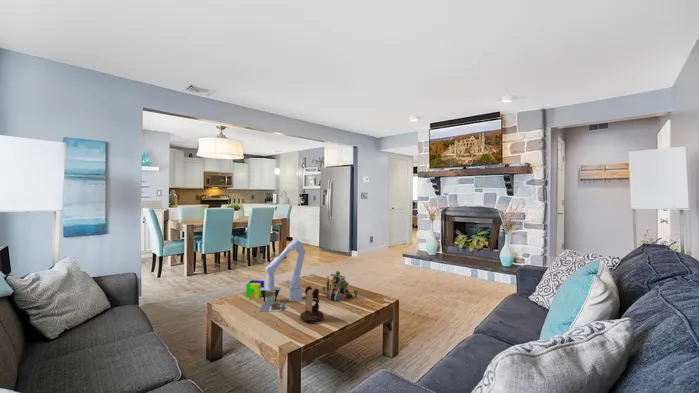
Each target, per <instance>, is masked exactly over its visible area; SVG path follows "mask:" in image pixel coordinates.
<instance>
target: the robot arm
mask: <svg viewBox="0 0 699 393" xmlns="http://www.w3.org/2000/svg"><path fill="white" fill-rule="evenodd" d="M292 251H296V252H297V254H296V259H295V264H294V268H293V273H292V274H291V277H290V278H289V281H288V284H289V285H290V286H289V298H288V302H297V301H301V302H302V301H303V287H301V271H302V267H303V264H304V260H305V254H306V249H305V247H304V244H303V243H302V241H301V240H298V239H296V238H294V239H292V240H291V241H290V242H289V243H288V245H287V246H286V247H285V248H284V249H283V250H282V252H281V253H280V254H279V256H275V257H274V258H273V260H272V261H271V262H270V263H268V265H266V267H265V271H266V273H265V274H266V276H265V277H266V278H265V279H266V280H265V287H264V288H260V292H261V294H262V296H261V297H262V299H263V302H266V292H274V301H277V298H278V295H279V293H280V292H281V290H282V289H281V287H278V286H275V273H276V270H277V269H278V267H279V266H280V265H281V264H282V263H283V260H284V258H286V256H287V255H288V254H290V252H292Z"/></svg>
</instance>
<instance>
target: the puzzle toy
mask: <svg viewBox="0 0 699 393" xmlns="http://www.w3.org/2000/svg"><path fill="white" fill-rule="evenodd" d="M260 288H265V281H264V280H255V279H253V280H250V281H249V282H248V283H246V285H245V298H249V297H253V298H252V299H260V298H261V297H263V296H262V294H261V292H260Z"/></svg>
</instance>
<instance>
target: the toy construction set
mask: <svg viewBox="0 0 699 393" xmlns="http://www.w3.org/2000/svg"><path fill="white" fill-rule="evenodd" d="M330 277H332V279H331V281H332V282H331V284H330ZM348 286H349V282H347V280H346V276H345V275H341V272H340V271H339V270H337V271H335V273H331V274H330V275H329V276H328V275H327V276H326V286H321V290H322V294H325V291H326V292H327V294H326V298H327V299H329V300H331V301H332V302H334V301H335V302H340V300H341V296H339V295H340V294H344V295H345V298H348V299H347V300H351V299H352V298H353V294H352V293H351V291H350V290H349V288H347V287H348ZM334 292H335V293H334ZM329 293H330V294H329ZM353 293H354V297H355V298H357V297H358V293H359V290H357V289H354V290H353ZM350 298H351V299H350Z"/></svg>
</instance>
